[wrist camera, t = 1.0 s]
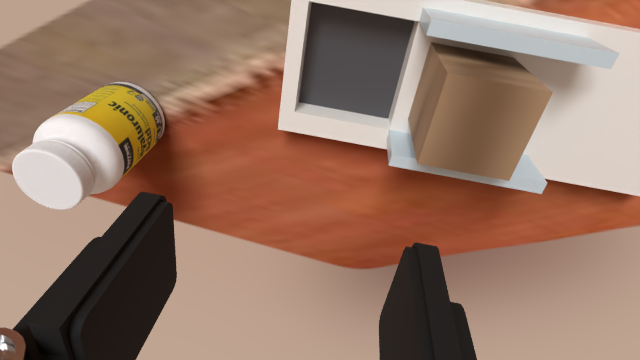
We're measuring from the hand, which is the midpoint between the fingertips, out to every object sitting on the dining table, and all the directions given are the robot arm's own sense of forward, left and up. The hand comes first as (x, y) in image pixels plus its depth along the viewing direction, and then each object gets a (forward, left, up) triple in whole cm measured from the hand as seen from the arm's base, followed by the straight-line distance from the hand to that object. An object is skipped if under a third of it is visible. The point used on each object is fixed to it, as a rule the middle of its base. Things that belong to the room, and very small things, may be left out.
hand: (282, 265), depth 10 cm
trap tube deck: (-10, 0, -20) cm, 22 cm away
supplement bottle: (+15, +7, -20) cm, 25 cm away
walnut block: (-8, 0, -18) cm, 19 cm away
